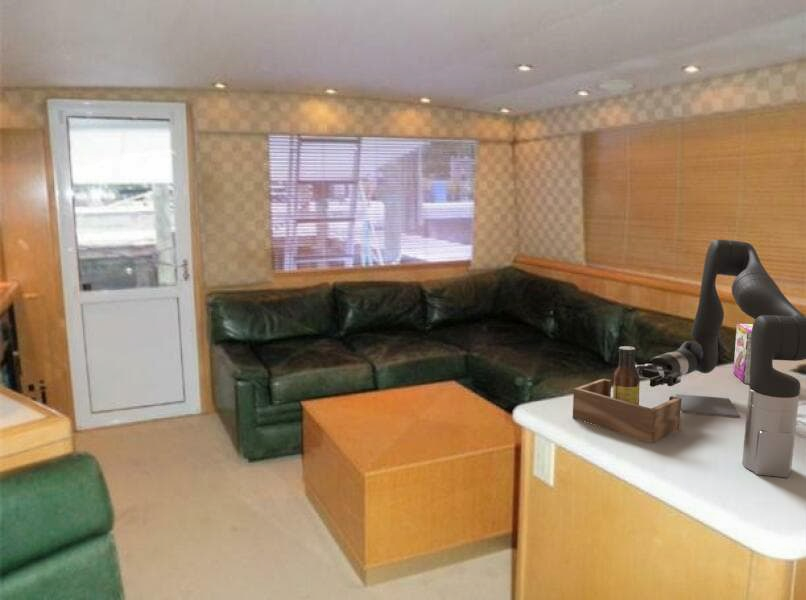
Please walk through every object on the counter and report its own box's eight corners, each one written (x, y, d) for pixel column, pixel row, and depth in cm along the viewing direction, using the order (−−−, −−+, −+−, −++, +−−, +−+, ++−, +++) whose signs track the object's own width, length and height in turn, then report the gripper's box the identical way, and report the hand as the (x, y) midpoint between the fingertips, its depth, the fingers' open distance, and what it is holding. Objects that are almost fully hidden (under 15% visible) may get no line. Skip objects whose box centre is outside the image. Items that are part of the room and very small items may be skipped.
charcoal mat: (739, 417, 167) (740, 415, 167) (681, 412, 171) (681, 410, 171) (728, 400, 180) (729, 398, 180) (675, 396, 184) (675, 394, 184)
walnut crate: (601, 406, 176) (603, 378, 175) (679, 429, 160) (681, 398, 158) (572, 417, 168) (573, 388, 166) (651, 443, 151) (653, 411, 150)
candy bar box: (731, 373, 205) (736, 323, 202) (748, 374, 204) (753, 323, 201) (742, 383, 195) (747, 331, 192) (760, 384, 194) (765, 331, 191)
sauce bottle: (643, 426, 162) (648, 349, 158) (623, 429, 160) (627, 352, 156) (625, 417, 168) (629, 343, 164) (606, 420, 166) (610, 346, 162)
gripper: (644, 348, 179) (611, 359, 169) (694, 359, 168) (663, 370, 158) (643, 374, 180) (610, 386, 170) (692, 386, 170) (661, 400, 159)
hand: (635, 379), depth 164 cm, fingers open, 8 cm apart
